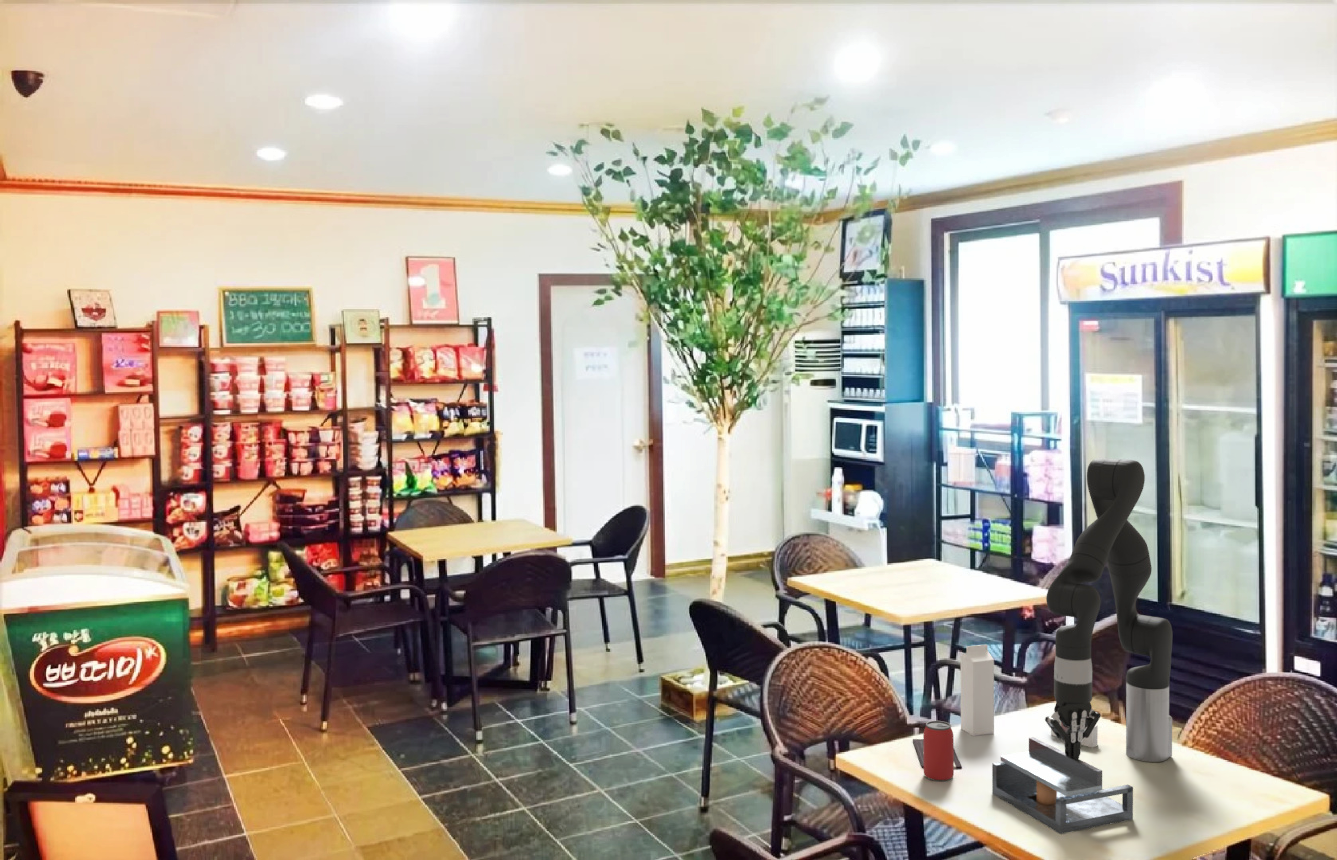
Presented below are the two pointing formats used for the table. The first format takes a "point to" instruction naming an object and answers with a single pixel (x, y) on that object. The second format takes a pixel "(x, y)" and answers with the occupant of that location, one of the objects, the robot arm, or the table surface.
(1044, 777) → the cover
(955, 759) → the chocolate bar
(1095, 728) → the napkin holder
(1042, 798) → the rounded orange stub
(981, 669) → the milk
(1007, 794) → the housing
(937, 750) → the beer can
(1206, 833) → the table surface
